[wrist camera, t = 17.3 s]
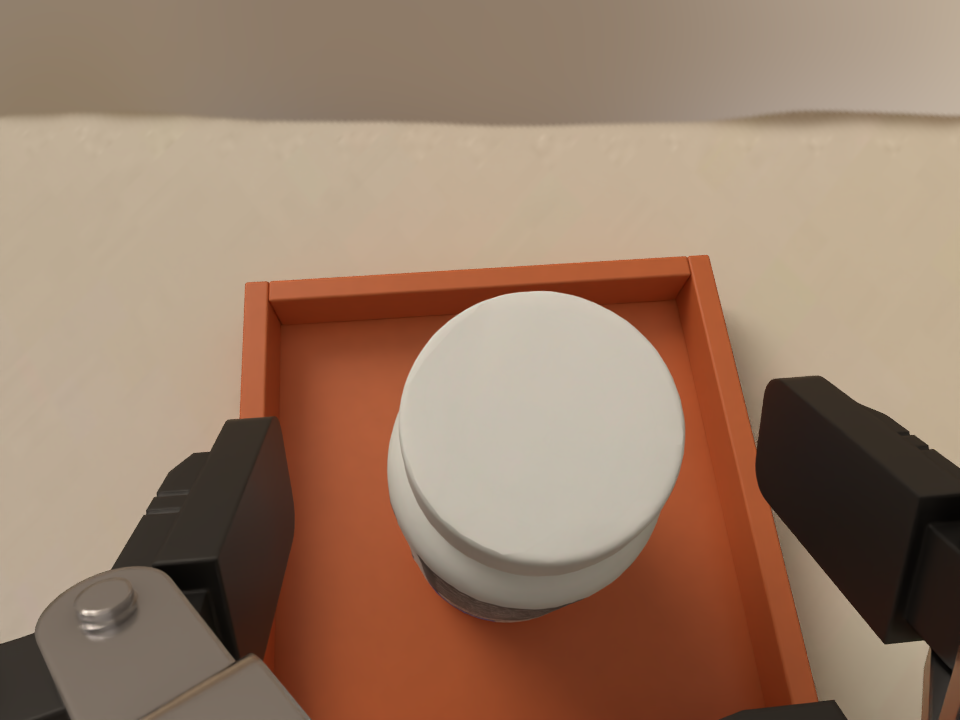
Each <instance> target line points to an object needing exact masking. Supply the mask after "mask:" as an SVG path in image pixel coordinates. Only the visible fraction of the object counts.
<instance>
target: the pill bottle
mask: <svg viewBox="0 0 960 720" xmlns="http://www.w3.org/2000/svg"><path fill="white" fill-rule="evenodd" d="M684 446H685V420H684V414H683V409H682V404H681V399H680V396H679V393H678V391H677V388H676V385H675V383H674V380H673V377H672V375H671V373H670V371H669V369H668V367H667V366H666V364H665V362H664V361H663V359H662V358H661V356H660V355H659V353H658V351H657V350H656V349H655V348H654V346H653V345H652V344H651V343H650V342H649V341H648V340H647V339H646V338H645V337H644V336H643V335H642V334H641V333H640V332H639V331H638V330H637V329H636V328H635V327H634V326H632V325H631V324H630V323H629V322H628V321H626V320H625V319H623V318H622V317H620V316H618V315H617V314H615V313H614V312H612V311H610V310H608V309H606V308H604V307H602V306H600V305H598V304H596V303H594V302H591V301H588V300H586V299H583V298H580V297H577V296H574V295H569V294H564V293H558V292H552V291H531V292H517V293H511V294H504V295H501V296H498V297H494V298H491V299H488V300H485V301H482V302H480V303H478V304H476V305H474V306H472V307H470V308H468V309H466V310H464V311H463V312H461V313H460V314H458V315H457V316H455V317H454V318H452V319H451V320H450V321H448V322H447V323H446V324H445V325H444V326H442V327H441V328H440V329H439V330H438V331H437V332H436V333H435V334H434V335H433V336H432V337H431V339H430V340H429V341H428V343H427V344H426V345H425V347H424V348H423V349H422V351H421V352H420V354H419V355H418V357H417V359H416V360H415V362H414V364H413V366H412V368H411V370H410V373H409V375H408V377H407V380H406V383H405V385H404V389H403V393H402V397H401V402H400V408H399V412H398V414H397V417H396V420H395V423H394V426H393V430H392V434H391V438H390V442H389V449H388V460H387V477H388V488H389V496H390V503H391V506H392V509H393V512H394V514H395V516H396V519H397V522H398V525H399V527H400V529H401V530H402V533H403V535H404V537H405V539H406V540H407V542H408V544H409V546H410V549H411V553H412V557H413V559H414V560H415V562H416V563H417V564H418V566H419V568H420V570H421V571H422V573H423V575H424V577H425V578H426V580H427V581H428V583H429V584H430V585H431V586H432V588H433V589H434V590H435V591H436V593H437V594H438V595H439V596H441V597H442V598H443V599H444V600H445V601H447V602H448V603H449V604H451V605H452V606H454V607H455V608H457V609H458V610H460V611H462V612H464V613H466V614H469V615H471V616H473V617H476V618H479V619H483V620H488V621H493V622H521V621H527V620H531V619H534V618H538V617H541V616H543V615H546V614H548V613H550V612H553V611H555V610H558V609H560V608H562V607H565V606H567V605H569V604H572V603H575V602H578V601H581V600H583V599H584V598H587V597H589V596H591V595H593V594H594V593H596V592H598V591H599V590H601V589H603V588H604V587H606V586H607V585H609V584H611V583H612V582H613V581H614V580H616V579H617V578H618V577H619V576H620V575H621V574H622V573H623V572H624V571H625V570H626V569H628V568H629V567H630V566H631V564H632V563H633V562H634V561H635V559H636V558H637V557H638V555H639V554H640V553H641V551H642V550H643V548H644V547H645V545H646V544H647V542H648V540H649V538H650V536H651V534H652V532H653V530H654V528H655V525H656V523H657V520H658V518H659V515H660V512H661V510H662V508H663V506H664V505H665V503H666V501H667V500H668V498H669V496H670V494H671V492H672V490H673V488H674V486H675V483H676V481H677V478H678V475H679V472H680V468H681V464H682V459H683V455H684Z"/></svg>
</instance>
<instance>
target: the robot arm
mask: <svg viewBox="0 0 960 720" xmlns="http://www.w3.org/2000/svg"><path fill="white" fill-rule="evenodd" d="M755 472H756V479H757V483H758V486H759V489H760V492H761V494H762V496H763V497H764V499H765V500H766V501H767V503H768V504H769V505H770V506H771V507H772V509H773V510H774V511H775V512H776V513H777V515H778V516H779V517H780V518H781V520H782V521H783V522H784V523H785V524H786V526H787V527H788V528H789V529H790V530H791V532H792V533H793V534H794V535H795V536H796V538H797V539H798V540H799V541H800V543H801V544H802V545H803V546H804V547H805V549H806V550H807V551H808V552H809V553H810V555H811V556H812V557H813V558H814V559H815V561H816V562H817V563H818V564H819V566H820V567H821V568H822V569H823V570H824V572H825V573H826V574H827V575H828V576H829V578H830V579H831V580H832V581H833V582H834V584H835V585H836V586H837V587H838V589H839V590H840V591H841V592H842V593H843V595H844V596H845V597H846V598H847V599H848V601H849V602H850V603H851V604H852V605H853V607H854V608H855V609H856V610H857V612H858V613H859V614H860V615H861V616H862V618H863V619H864V620H865V621H866V622H867V624H868V625H869V626H870V627H871V628H872V630H873V631H874V632H875V633H876V635H877V636H878V637H879V638H880V639H881V641H882V642H883V643H884V644H893V643H903V642H912V641H922V640H924V641H925V642H926V643H927V644H928V645H929V646H930V647H929V651H928V655H927V658H926V662H925V666H924V676H923V695H922V714H921V720H960V468H959V467H957V466H956V465H955V464H953V463H952V462H950V461H949V460H948V459H946V458H945V457H944V456H942V455H941V454H939V453H938V452H937V451H935V450H934V449H930V450H929V447H928V445H927V444H926V443H924V442H923V441H922V440H920V439H919V438H917V437H916V436H915V435H910V434H909V431H908V430H906V429H905V428H904V427H902V426H901V425H899V424H898V423H897V422H895V421H894V420H893V419H891V418H890V417H888V416H887V415H885V414H883V413H881V412H878V411H876V410H873V409H871V408H869V407H866V406H864V405H861V404H859V403H857V402H856V401H854V400H853V399H852V398H850V397H849V396H848V395H846V394H845V393H844V392H842V391H841V390H839V389H838V388H837V387H835V386H834V385H833V384H831V383H830V382H829V381H827V380H826V379H825V378H823V377H821V376H805V377H792V378H779V379H773V380H771V381H770V382H769V383H768V385H767V387H766V389H765V393H764V399H763V406H762V414H761V422H760V429H759V437H758V445H757V452H756V460H755ZM294 529H295V511H294V501H293V494H292V488H291V482H290V476H289V471H288V465H287V459H286V453H285V447H284V441H283V435H282V430H281V426H280V422H279V420H278V418H277V417H276V416H270V417H257V418H244V419H231V420H227V421H226V422H225V424H224V426H223V428H222V430H221V432H220V434H219V436H218V437H217V439H216V441H215V443H214V445H213V447H212V449H211V451H210V452H201V453H193V454H192V455H191V456H189V457H188V458H187V459H185V460H184V461H183V462H182V463H180V464H179V465H178V466H176V467H175V468H174V469H173V470H171V471H170V472H169V473H168V475H167V477H166V478H165V480H164V482H163V483H162V485H161V487H160V488H159V490H158V492H157V497H154V498H153V500H152V502H151V503H150V505H149V507H148V508H147V510H146V515H143V517H142V519H141V520H140V522H139V524H138V525H137V527H136V529H135V530H134V532H133V534H132V535H131V537H130V539H129V540H128V542H127V544H126V545H125V547H124V549H123V550H122V552H121V554H120V555H119V557H118V559H117V561H116V562H115V564H114V566H113V567H112V569H111V570H109V571H106V572H103V573H99V574H97V575H94V576H92V577H89V578H87V579H85V580H83V581H81V582H79V583H77V584H76V585H74V586H72V587H71V588H69V589H67V590H66V591H65V592H63V593H62V594H61V595H59V596H58V597H57V598H56V599H55V600H54V601H52V602H51V603H50V604H49V605H48V607H47V608H46V609H45V610H44V611H43V613H42V614H41V616H40V618H39V619H38V622H37V624H36V627H35V633H33V634H30V635H27V636H25V637H22V638H19V639H15V640H12V641H9V642H5V643H2V644H0V720H311V718H310V717H309V716H308V715H307V714H306V712H305V711H304V710H303V709H302V708H301V706H300V705H299V704H298V703H297V702H296V700H295V699H294V698H293V697H292V696H291V694H290V693H289V692H288V691H287V690H286V688H285V687H284V686H283V685H282V684H281V682H280V681H279V680H278V679H277V677H276V676H275V675H274V674H273V673H272V671H271V670H270V669H269V668H268V667H267V665H266V664H265V663H264V662H263V660H264V656H265V652H266V648H267V644H268V640H269V636H270V632H271V628H272V624H273V620H274V615H275V611H276V607H277V603H278V599H279V595H280V591H281V587H282V583H283V579H284V575H285V571H286V567H287V563H288V559H289V555H290V551H291V547H292V542H293V538H294ZM719 720H847V718H846V717H845V715H844V714H843V712H842V711H841V709H840V708H839V706H838V705H837V703H836V702H835V700H829V701H820V702H811V703H802V704H793V705H784V706H775V707H766V708H757V709H748V710H742V711H739V712H737V713H734V714H732V715H729V716H726V717H724V718H721V719H719Z"/></svg>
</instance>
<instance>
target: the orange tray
mask: <svg viewBox="0 0 960 720" xmlns="http://www.w3.org/2000/svg"><path fill="white" fill-rule="evenodd" d="M531 291H552V292H558V293H564V294H569V295H574V296H577V297H580V298H583V299H586V300H588V301H591V302H594V303H596V304H598V305H600V306H602V307H604V308H606V309H608V310H610V311H612V312H614V313H615V314H617V315H618V316H620V317H622V318H623V319H625V320H626V321H628V322H629V323H630V324H631V325H632V326H634V327H635V328H636V329H637V330H638V331H639V332H640V333H641V334H642V335H643V336H644V337H645V338H646V339H647V340H648V341H649V342H650V343H651V344H652V345H653V346H654V348H655V349H656V350H657V351H658V353H659V355H660V356H661V358H662V359H663V361H664V362H665V364H666V366H667V367H668V369H669V371H670V373H671V375H672V377H673V380H674V383H675V385H676V388H677V391H678V393H679V396H680V399H681V404H682V409H683V414H684V420H685V446H684V455H683V459H682V464H681V468H680V472H679V475H678V478H677V481H676V483H675V486H674V488H673V490H672V492H671V494H670V496H669V498H668V500H667V501H666V503H665V505H664V506H663V508H662V510H661V512H660V515H659V518H658V520H657V523H656V525H655V528H654V530H653V532H652V534H651V536H650V538H649V540H648V542H647V544H646V545H645V547H644V548H643V550H642V551H641V553H640V554H639V555H638V557H637V558H636V559H635V561H634V562H633V563H632V564H631V566H630V567H629V568H628V569H626V570H625V571H624V572H623V573H622V574H621V575H620V576H619V577H618V578H617V579H616V580H614V581H613V582H612V583H611V584H609V585H607V586H606V587H604V588H603V589H601V590H599V591H598V592H596V593H594V594H593V595H591V596H589V597H587V598H584V599H583V600H581V601H578V602H575V603H572V604H569V605H567V606H565V607H562V608H560V609H558V610H555V611H553V612H550V613H548V614H546V615H543V616H541V617H538V618H534V619H531V620H527V621H521V622H493V621H488V620H483V619H479V618H476V617H473V616H471V615H469V614H466V613H464V612H462V611H460V610H458V609H457V608H455V607H454V606H452V605H451V604H449V603H448V602H447V601H445V600H444V599H443V598H442V597H441V596H439V595H438V594H437V593H436V591H435V590H434V589H433V588H432V586H431V585H430V584H429V583H428V581H427V580H426V578H425V577H424V575H423V573H422V571H421V570H420V568H419V566H418V564H417V563H416V562H415V560H414V559H413V557H412V553H411V549H410V546H409V544H408V542H407V540H406V539H405V537H404V535H403V533H402V530H401V529H400V527H399V525H398V522H397V519H396V516H395V514H394V512H393V509H392V506H391V503H390V496H389V488H388V477H387V460H388V449H389V442H390V438H391V434H392V430H393V426H394V423H395V420H396V417H397V414H398V412H399V408H400V402H401V397H402V393H403V389H404V385H405V383H406V380H407V377H408V375H409V373H410V370H411V368H412V366H413V364H414V362H415V360H416V359H417V357H418V355H419V354H420V352H421V351H422V349H423V348H424V347H425V345H426V344H427V343H428V341H429V340H430V339H431V337H432V336H433V335H434V334H435V333H436V332H437V331H438V330H439V329H440V328H441V327H442V326H444V325H445V324H446V323H447V322H448V321H450V320H451V319H452V318H454V317H455V316H457V315H458V314H460V313H461V312H463V311H464V310H466V309H468V308H470V307H472V306H474V305H476V304H478V303H480V302H482V301H485V300H488V299H491V298H494V297H498V296H501V295H504V294H511V293H517V292H531ZM270 416H276V417H277V418H278V420H279V422H280V426H281V430H282V435H283V441H284V447H285V453H286V459H287V465H288V471H289V476H290V482H291V488H292V494H293V501H294V511H295V529H294V538H293V542H292V547H291V551H290V555H289V559H288V563H287V567H286V571H285V575H284V579H283V583H282V587H281V591H280V595H279V599H278V603H277V607H276V611H275V615H274V620H273V624H272V628H271V632H270V636H269V640H268V644H267V648H266V652H265V656H264V660H263V662H264V663H265V664H266V665H267V667H268V668H269V669H270V670H271V671H272V673H273V674H274V675H275V676H276V677H277V679H278V680H279V681H280V682H281V684H282V685H283V686H284V687H285V688H286V690H287V691H288V692H289V693H290V694H291V696H292V697H293V698H294V699H295V700H296V702H297V703H298V704H299V705H300V706H301V708H302V709H303V710H304V711H305V712H306V714H307V715H308V716H309V717H310V718H311V720H719V719H721V718H724V717H726V716H729V715H732V714H734V713H737V712H739V711H742V710H748V709H757V708H766V707H775V706H784V705H793V704H802V703H811V702H818V698H817V694H816V690H815V685H814V681H813V677H812V673H811V669H810V665H809V661H808V657H807V653H806V649H805V645H804V641H803V637H802V633H801V629H800V625H799V620H798V616H797V612H796V608H795V604H794V600H793V596H792V592H791V588H790V584H789V580H788V576H787V572H786V568H785V564H784V560H783V555H782V551H781V547H780V543H779V539H778V535H777V531H776V527H775V523H774V519H773V515H772V511H771V507H770V505H769V504H768V503H767V501H766V500H765V499H764V497H763V496H762V494H761V492H760V489H759V486H758V483H757V479H756V472H755V460H756V452H757V450H756V446H755V442H754V438H753V434H752V430H751V426H750V421H749V417H748V413H747V409H746V405H745V401H744V397H743V393H742V389H741V385H740V381H739V377H738V373H737V369H736V365H735V361H734V356H733V352H732V348H731V344H730V340H729V336H728V332H727V328H726V324H725V320H724V316H723V312H722V308H721V304H720V300H719V296H718V291H717V287H716V283H715V279H714V275H713V271H712V267H711V263H710V259H709V256H708V255H699V256H689V257H685V256H682V257H666V258H649V259H633V260H616V261H600V262H583V263H567V264H550V265H534V266H517V267H501V268H484V269H468V270H451V271H435V272H418V273H402V274H385V275H369V276H352V277H335V278H319V279H302V280H286V281H271V282H270V283H269V282H267V281H265V282H249V283H246V284H245V302H244V327H243V351H242V375H241V400H240V419H244V418H257V417H270Z"/></svg>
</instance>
